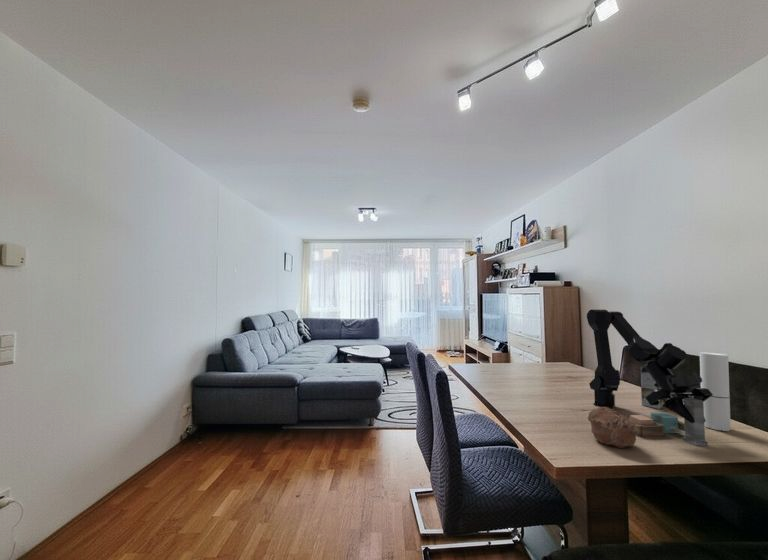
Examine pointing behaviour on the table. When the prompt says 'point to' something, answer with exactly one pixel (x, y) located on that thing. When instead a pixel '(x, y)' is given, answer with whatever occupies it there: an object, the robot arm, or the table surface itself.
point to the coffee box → (648, 390)
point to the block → (641, 420)
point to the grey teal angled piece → (686, 422)
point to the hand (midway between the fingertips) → (698, 422)
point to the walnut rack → (655, 429)
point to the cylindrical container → (716, 390)
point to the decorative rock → (612, 427)
